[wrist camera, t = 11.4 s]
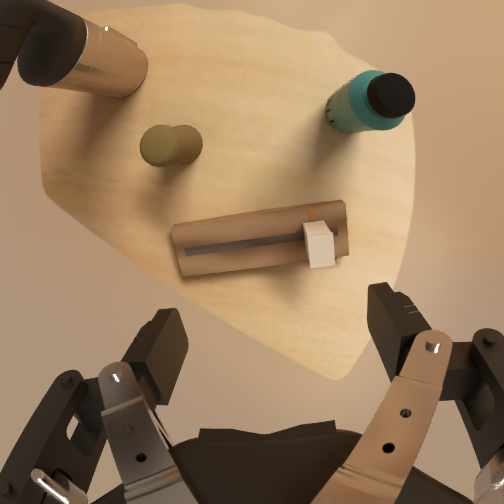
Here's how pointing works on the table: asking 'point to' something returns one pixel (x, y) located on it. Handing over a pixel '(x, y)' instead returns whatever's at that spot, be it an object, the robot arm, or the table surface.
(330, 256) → the fader tab
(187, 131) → the cork
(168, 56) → the table surface
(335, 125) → the beverage bottle
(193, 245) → the console track
